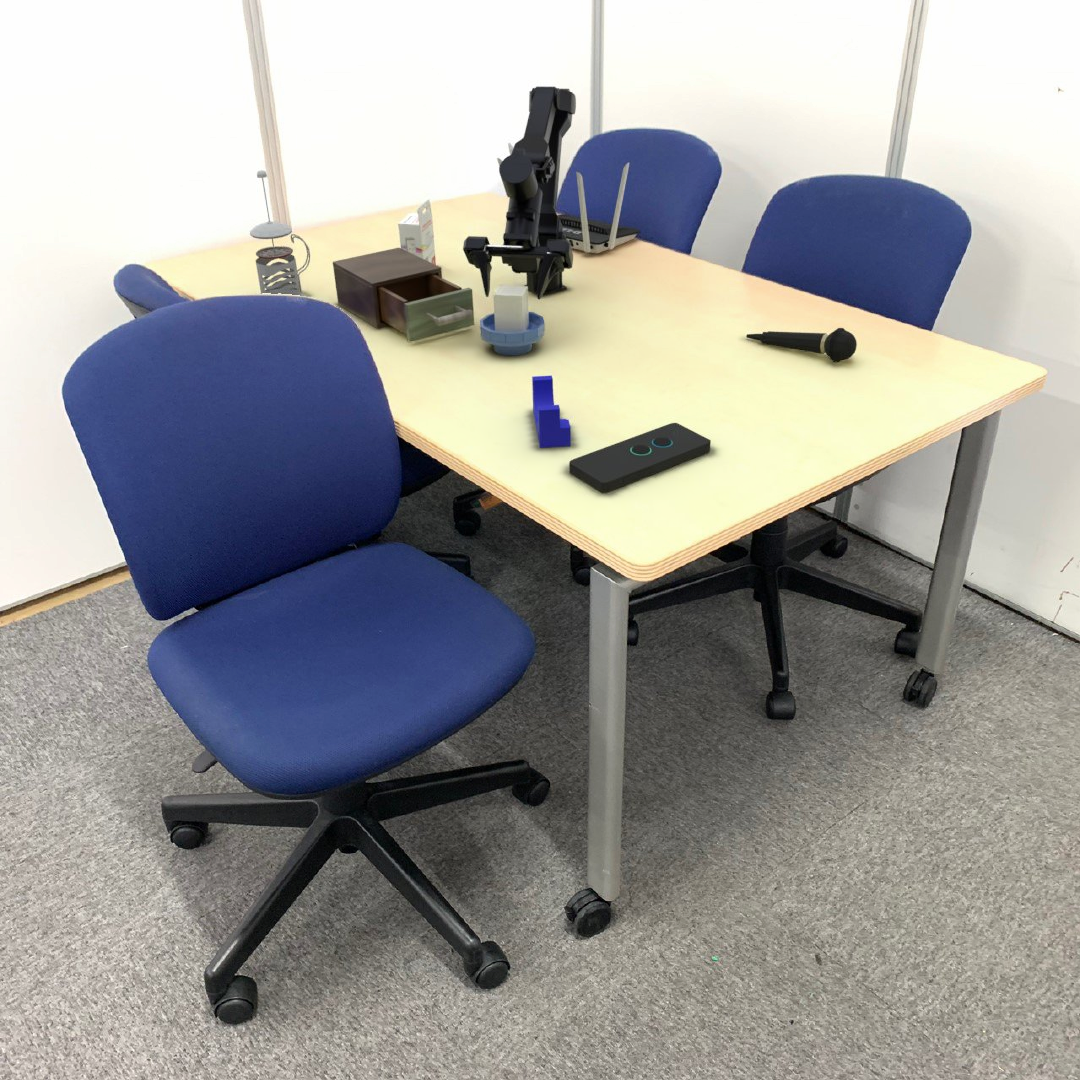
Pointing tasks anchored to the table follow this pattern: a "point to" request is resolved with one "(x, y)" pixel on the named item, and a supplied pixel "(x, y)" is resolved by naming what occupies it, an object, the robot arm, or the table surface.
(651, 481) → the table surface
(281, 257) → the french press
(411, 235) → the ink cartridge box
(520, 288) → the white block
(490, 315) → the blue bowl
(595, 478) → the smart home device
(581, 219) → the wireless router
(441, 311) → the drawer
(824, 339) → the microphone
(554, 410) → the blue stepped block
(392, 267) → the cabinet
